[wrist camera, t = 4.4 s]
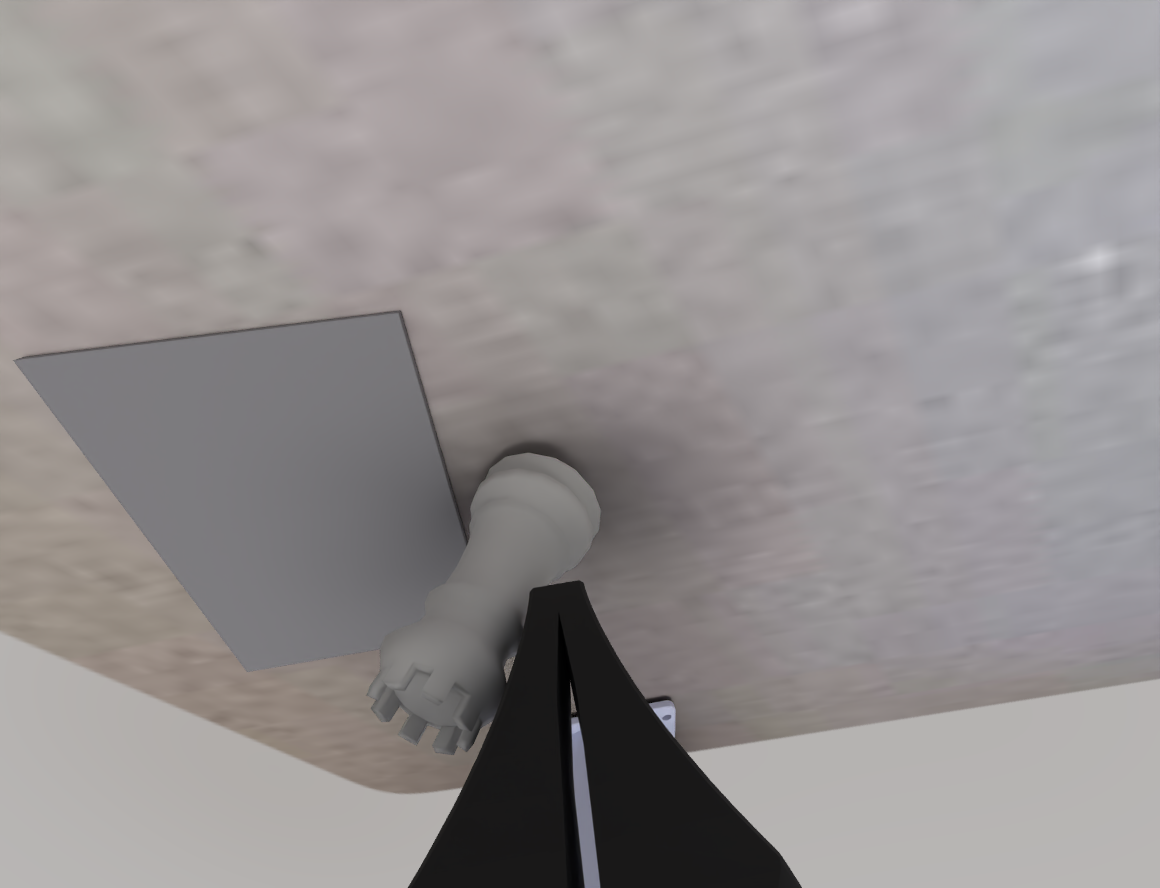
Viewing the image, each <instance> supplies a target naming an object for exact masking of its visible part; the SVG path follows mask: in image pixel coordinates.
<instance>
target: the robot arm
mask: <svg viewBox="0 0 1160 888" xmlns="http://www.w3.org/2000/svg"><path fill="white" fill-rule="evenodd" d="M570 682H571V687H572V691H573V696H574V701H575V706H576V711H577V715H578V717H574V718H571V692H570ZM408 888H802V887H801V885H800V884H799V882H798V881H797V879H796V877H795V876H794V874H793V873H792V871H791V870H790V868H789V867H788V865H787V863H786V862H785V860H784V859H783V857H782V856H781V855H780V853H779V852H778V851H777V850H776V849H775V848H774V847H773V846H772V845H771V844H770V843H769V842H768V841H767V840H766V839H765V838H764V837H763V836H762V835H761V834H760V833H759V832H758V831H757V830H756V829H755V828H754V827H753V826H752V825H751V824H750V823H749V822H748V820H747V819H746V818H745V817H744V816H743V815H742V814H741V813H740V812H739V811H738V810H737V809H736V808H735V807H734V806H733V805H732V804H731V803H730V801H729V800H728V799H727V798H726V797H725V796H724V795H723V794H722V793H721V792H720V791H719V789H718V788H717V787H716V786H715V785H714V784H713V783H712V782H711V781H710V780H709V778H708V777H707V776H706V775H705V774H704V772H703V771H702V770H701V769H700V768H699V767H698V765H697V764H696V763H695V762H694V761H693V759H692V758H691V757H690V756H689V755H688V754H687V752H686V751H685V750H684V749H683V748H682V747H681V745H680V744H679V743H678V742H677V740H676V739H675V707H674V704H673V702H672V701H669V700H665V701H659V702H654V703H649V704H648V702H647V701H646V699H645V698H644V696H643V695H642V694H641V692H640V691H639V689H638V688H637V686H636V685H635V683H634V682H633V680H632V679H631V677H630V675H629V674H628V672H627V671H626V669H625V668H624V666H623V664H622V663H621V661H620V659H619V658H618V656H617V654H616V653H615V651H614V649H613V647H612V646H611V644H610V642H609V640H608V638H607V637H606V635H605V633H604V631H603V629H602V627H601V625H600V623H599V621H598V619H597V617H596V615H595V613H594V611H593V608H592V606H591V604H590V601H589V599H588V596H587V593H586V590H585V586H584V583H583V582H581V581H579V580H578V581H572V582H566V583H560V584H554V585H548V586H542V587H536V588H533V589H532V590H531V591H530V593H529V602H528V608H527V614H526V619H525V623H524V627H523V632H522V636H521V639H520V643H519V646H518V650H517V653H516V657H515V660H514V664H513V667H512V670H511V673H510V676H509V679H508V682H507V684H506V687H505V690H504V693H503V696H502V698H501V701H500V704H499V707H498V709H497V712H496V714H495V717H494V719H493V722H492V724H491V727H490V729H489V732H488V734H487V736H486V739H485V741H484V743H483V746H482V748H481V750H480V752H479V755H478V757H477V759H476V761H475V763H474V765H473V767H472V769H471V772H470V774H469V776H468V778H467V780H466V782H465V784H464V786H463V788H462V790H461V792H460V795H459V796H458V798H457V801H456V802H455V804H454V806H453V808H452V810H451V812H450V814H449V815H448V818H447V819H446V821H445V823H444V825H443V826H442V828H441V830H440V832H439V834H438V836H437V838H436V839H435V841H434V843H433V845H432V847H431V849H430V850H429V852H428V854H427V856H426V858H425V859H424V861H423V863H422V865H421V867H420V868H419V870H418V872H417V873H416V875H415V877H414V878H413V880H412V882H411V883H410V885H409V887H408Z"/></svg>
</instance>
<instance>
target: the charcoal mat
mask: <svg viewBox="0 0 1160 888" xmlns="http://www.w3.org/2000/svg"><path fill="white" fill-rule="evenodd" d="M13 361H14V362H15V363H16V365H17V366H18V367H19V369H20V370H21V371H22V373H23V374H24V375H25V377H26V378H27V379H28V381H29V382H30V383H31V385H32V386H33V387H34V389H35V390H36V391H37V393H38V394H39V395H40V397H41V398H42V399H43V401H44V402H45V403H46V405H47V406H48V407H49V409H50V410H51V411H52V413H53V414H54V415H55V417H56V418H57V419H58V421H59V422H60V423H61V425H62V426H63V427H64V429H65V430H66V431H67V433H68V434H69V435H70V437H71V438H72V439H73V441H74V442H75V443H76V445H77V446H78V447H79V449H80V450H81V451H82V453H83V454H84V455H85V457H86V458H87V459H88V461H89V462H90V463H91V465H92V466H93V467H94V469H95V470H96V471H97V473H98V474H99V475H100V477H101V478H102V479H103V481H104V482H105V483H106V485H107V486H108V487H109V489H110V490H111V491H112V493H113V494H114V495H115V497H116V498H117V499H118V501H119V502H120V503H121V505H122V506H123V507H124V509H125V510H126V511H127V513H128V514H129V515H130V517H131V518H132V519H133V521H134V522H135V523H136V525H137V526H138V527H139V529H140V530H141V531H142V533H143V534H144V535H145V537H146V538H147V539H148V541H149V542H150V543H151V545H152V546H153V547H154V549H155V550H156V551H157V553H158V554H159V555H160V557H161V558H162V559H163V561H164V562H165V563H166V565H167V566H168V567H169V569H170V570H171V571H172V573H173V574H174V575H175V577H176V578H177V579H178V581H179V582H180V583H181V585H182V586H183V587H184V589H185V590H186V591H187V593H188V594H189V595H190V597H191V598H192V599H193V601H194V602H195V603H196V605H197V606H198V607H199V609H200V610H201V611H202V613H203V614H204V615H205V617H206V618H207V619H208V621H209V622H210V623H211V625H212V626H213V627H214V629H215V630H216V631H217V633H218V634H219V635H220V636H221V638H222V639H223V640H224V642H225V643H226V644H227V646H228V647H229V648H230V650H231V651H232V652H233V654H234V655H235V656H236V658H237V659H238V660H239V662H240V663H241V664H242V666H243V667H244V668H245V670H246V671H247V672H250V671H256V670H262V669H268V668H274V667H279V666H285V665H291V664H297V663H303V662H308V661H314V660H320V659H326V658H332V657H337V656H343V655H349V654H355V653H361V652H367V651H372V650H378V649H380V647H381V645H382V642H383V639H384V637H385V636H386V635H388V634H389V633H391V632H393V631H395V630H397V629H399V628H402V627H405V626H408V625H410V624H413V623H416V622H419V621H420V620H421V619H422V618H423V617H424V616H425V614H426V610H425V601H426V598H427V596H428V594H429V591H431V590H433V589H435V588H437V587H438V586H440V585H442V584H445V583H446V581H447V580H448V578H449V577H450V576H451V574H452V573H453V571H454V570H455V568H456V567H457V565H458V563H459V561H460V559H461V557H462V555H463V553H464V551H465V548H466V546H467V544H468V543H467V539H466V536H465V533H464V529H463V526H462V522H461V519H460V515H459V512H458V508H457V505H456V501H455V498H454V494H453V491H452V488H451V484H450V481H449V477H448V474H447V470H446V467H445V463H444V460H443V456H442V453H441V449H440V446H439V442H438V439H437V436H436V432H435V429H434V425H433V422H432V418H431V415H430V411H429V408H428V404H427V401H426V397H425V394H424V391H423V387H422V384H421V380H420V377H419V373H418V370H417V366H416V363H415V359H414V356H413V352H412V349H411V345H410V342H409V339H408V335H407V332H406V328H405V325H404V321H403V318H402V314H401V311H395V312H386V313H378V314H370V315H362V316H354V317H346V318H338V319H330V320H321V321H313V322H305V323H297V324H289V325H281V326H273V327H264V328H256V329H248V330H240V331H232V332H224V333H216V334H208V335H199V336H191V337H183V338H175V339H167V340H159V341H151V342H143V343H134V344H126V345H118V346H110V347H102V348H94V349H86V350H77V351H69V352H61V353H53V354H45V355H37V356H29V357H23V358H19V359H16V360H13Z"/></svg>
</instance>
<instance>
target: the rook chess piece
mask: <svg viewBox="0 0 1160 888" xmlns="http://www.w3.org/2000/svg"><path fill="white" fill-rule="evenodd" d="M470 510H471V522H470V524H469V531H470V538H469V542H468V544H467V546H466V548H465V551H464V553H463V555H462V557H461V559H460V561H459V563H458V565H457V567H456V568H455V570H454V571H453V573H452V574H451V576H450V577H449V578H448V580H447V581H446V583H445V584H442V585H440V586H438V587H437V588H435V589H433V590H431V591H429V594H428V596H427V598H426V601H425V610H426V614H425V616H424V617H423V618H422V619H421V620H420V621H419V622H416V623H413V624H410V625H408V626H405V627H402V628H399V629H397V630H395V631H393V632H391V633H389V634H388V635H386V636H385V637H384V639H383V642H382V645H381V647H380V673H379V674H378V675H377V677H376V678H375V680H374V681H373V682H372V684H371V685H370V688H369V690H368V693H367V696H369V697H371V698H373V699H375V700H376V701H375V702H374V704H373V705H372V707H371V709H372V711H373V712H374V713H375V714H376V716H377V717H378V718H379V719H380V721H381V722H388V721H390V720H391V719H392V717H393V716H394V714H395V712H396V711H397V709H398V707H400V708H402V709H403V710H404V711H405V712H406V713H408V714H409V717H408V718H407V720H406V722H405V723H404V725H403V727H402V728H401V730H400V732H399V733H398V736H400V737H402V738H404V739H406V740H407V741H409V742H411V743H413V744H414V745H416V746H417V744H418V742H419V740H420V738H421V736H422V735H423V733H424V731H425V729H426V727H427V725H428V726H431V727H434V728H437V729H440V731H439V733H438V735H437V737H436V739H435V741H434V743H433V745H432V746H433V748H434V750H435V752H436V753H442V754H450V755H454V753H455V751H456V749H457V747H458V746H459V747H460V748H462V749H463V750H464V751H466V752H467V751H468V750H469V749H470V748H471V746H472V745H473V744H474V742H475V739H476V737H477V735H478V733H479V730H480V728H482V727H483V726H485V725H487V724H488V723H490V722H492V721H493V719H494V717H495V714H496V712H497V709H498V707H499V704H500V701H501V698H502V696H503V693H504V690H505V687H506V684H507V683H506V678H505V673H504V666H505V663H506V660H507V659H509V658H511V657H514V656H516V653H517V650H518V646H519V643H520V639H521V636H522V632H523V627H524V623H525V619H526V614H527V608H528V602H529V593H530V591H531V590H532V589H533V588H536V587H542V586H548V584H549V583H550V582H552V581H554V580H556V579H558V578H561V576H562V575H563V574H564V572H566V571H569V570H571V569H573V568H575V567H576V566H577V564H578V563H579V562H580V561H581V560H582V558H583V557H584V556H585V554H586V553H587V551H588V550H589V549H590V547H591V542H592V540H593V538H594V537H595V535H596V534H597V533H598V531H599V526H600V516H601V510H600V507H599V504H598V501H597V499H596V496H595V493H594V490H593V489H592V488H591V487H590V486H589V484H588V483H587V482H586V481H585V480H584V479H583V478H582V477H581V475H580V474H579V473H578V472H577V471H576V470H575V469H574V468H572V467H570V466H569V465H567V464H565V463H563V462H562V461H560V460H558V459H556V458H553V457H548V456H543V455H538V454H533V453H523V454H518V455H512V456H506V457H505V458H503V459H502V460H501V461H499V462H498V463H496V464H495V465H494V466H492V467H491V468H490V469H489V472H488V474H487V476H486V478H485V480H484V481H483V482H481V483H480V485H479V487H478V489H477V492H476V494H475V496H474V498H473V501H472V504H471V507H470Z"/></svg>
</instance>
